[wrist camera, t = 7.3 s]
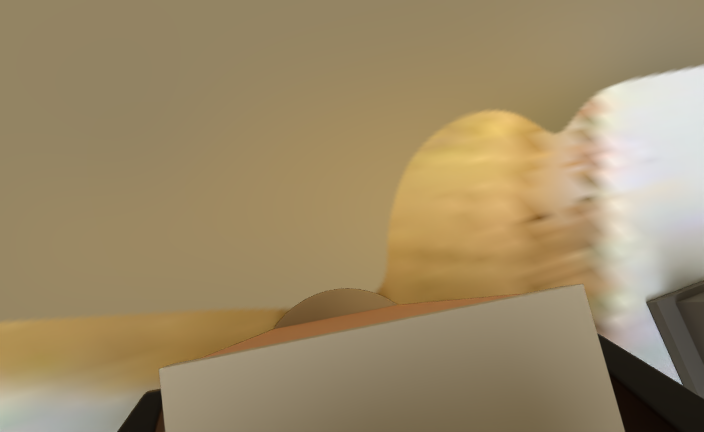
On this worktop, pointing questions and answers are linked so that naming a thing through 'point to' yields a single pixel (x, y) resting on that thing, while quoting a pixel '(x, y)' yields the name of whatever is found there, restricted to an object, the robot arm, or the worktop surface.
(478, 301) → the tin
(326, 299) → the coaster
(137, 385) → the worktop surface
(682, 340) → the screen
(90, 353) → the worktop surface
